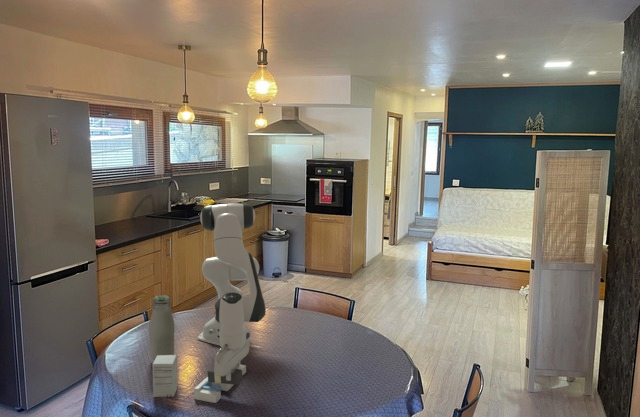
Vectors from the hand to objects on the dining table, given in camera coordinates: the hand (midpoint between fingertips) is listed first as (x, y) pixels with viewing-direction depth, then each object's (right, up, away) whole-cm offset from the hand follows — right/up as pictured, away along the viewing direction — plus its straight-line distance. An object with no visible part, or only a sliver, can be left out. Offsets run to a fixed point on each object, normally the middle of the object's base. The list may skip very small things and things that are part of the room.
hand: (232, 376), depth 171 cm
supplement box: (-25, -7, +4) cm, 26 cm away
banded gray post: (-3, -2, +1) cm, 4 cm away
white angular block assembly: (-5, -6, +9) cm, 12 cm away
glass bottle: (-34, -4, +28) cm, 44 cm away
